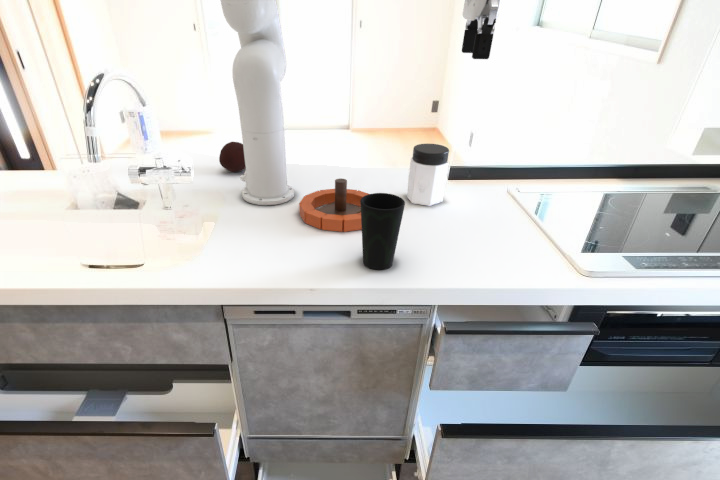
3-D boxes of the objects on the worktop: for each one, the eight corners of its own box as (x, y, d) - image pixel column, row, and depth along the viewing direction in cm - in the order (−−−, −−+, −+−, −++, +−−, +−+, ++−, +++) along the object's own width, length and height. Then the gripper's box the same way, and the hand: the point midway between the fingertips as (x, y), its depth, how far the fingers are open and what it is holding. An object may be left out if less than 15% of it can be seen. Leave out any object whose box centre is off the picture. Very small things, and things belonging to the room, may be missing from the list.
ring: (284, 214, 100) (283, 203, 99) (337, 193, 111) (337, 183, 110) (344, 239, 91) (344, 227, 90) (395, 213, 102) (396, 202, 100)
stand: (315, 214, 101) (314, 180, 96) (338, 204, 106) (339, 171, 101) (342, 224, 97) (342, 189, 92) (365, 213, 102) (366, 180, 97)
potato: (259, 171, 123) (256, 142, 119) (230, 179, 118) (226, 148, 113) (242, 164, 128) (239, 135, 123) (214, 171, 123) (209, 142, 118)
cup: (395, 275, 80) (402, 211, 73) (354, 270, 81) (357, 207, 74) (399, 255, 86) (406, 194, 79) (361, 251, 87) (364, 191, 80)
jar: (402, 202, 107) (407, 150, 100) (410, 191, 113) (416, 141, 106) (439, 208, 105) (447, 155, 97) (445, 196, 111) (454, 146, 103)
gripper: (462, -55, 86) (448, 50, 96) (484, -62, 72) (464, 61, 83) (501, -54, 86) (482, 51, 96) (530, -61, 72) (505, 62, 83)
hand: (474, 55), depth 89 cm, fingers open, 9 cm apart
